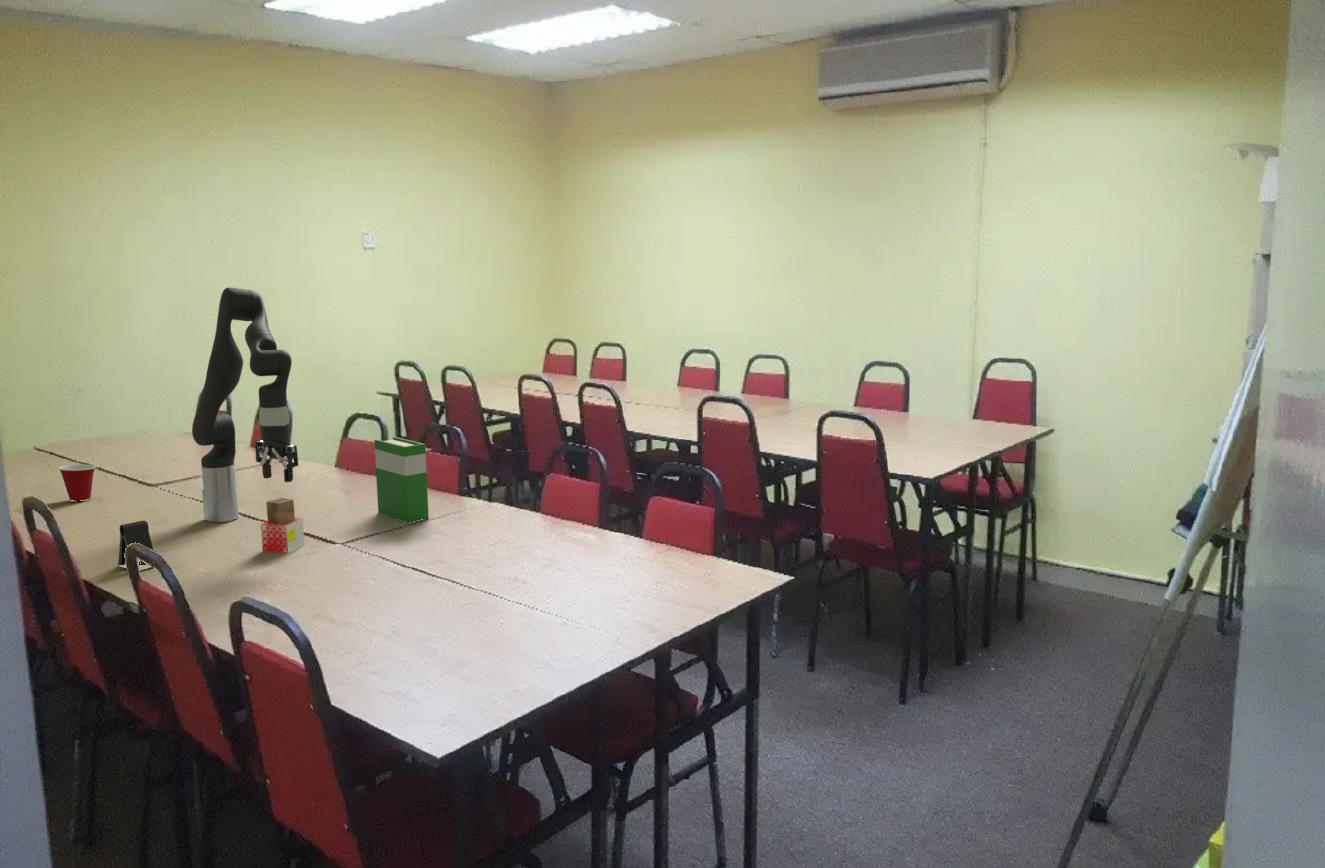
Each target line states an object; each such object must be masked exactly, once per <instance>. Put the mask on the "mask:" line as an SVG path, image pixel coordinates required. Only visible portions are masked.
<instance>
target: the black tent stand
mask: <svg viewBox="0 0 1325 868" xmlns="http://www.w3.org/2000/svg"><path fill="white" fill-rule="evenodd" d="M119 535H120V537H119V550H118V563H117V565H124V564H125V558H124V553H125V548H126V547H127V545H129V544H131V543H135V542H136V543H140V544H142V545H144V546H146V547H148V548H150V549H152V550H154V547H153V543H152V539H151V535H150V531H149V523H148V521H147V520H141V521H140V520H139V521H135V522H129V523H124V524H120V525H119ZM140 562H141V564H140ZM140 562H139V565H146V564H145V563H144V562H142V561H140ZM124 570H126V568H125V569H124Z"/></svg>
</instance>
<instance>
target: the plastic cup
mask: <svg viewBox="0 0 1325 868" xmlns="http://www.w3.org/2000/svg"><path fill="white" fill-rule="evenodd" d="M96 468H97V466H96V465H93V464H69V465H61V466H59V467H58V469H59V471H60V474H61V477H62V479H63V483H64V487H65V490H66V493H67V494H68V499H69V500H75V501H80V500H86V499H89V498H90V499H91V497H92V489H93V488H92V487H93V482H94V481H93V477H94V472H95V469H96Z"/></svg>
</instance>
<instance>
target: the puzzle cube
mask: <svg viewBox="0 0 1325 868" xmlns="http://www.w3.org/2000/svg"><path fill="white" fill-rule="evenodd" d="M303 522H304V519H303V517H302V518H300V517H295V521H291V522H288V523H284V524H281V525H279V524H274V523H269V522H268V520H267V521H266V522H262V523H261V524H260V531H261V533H260V534H261V546H262V552H265V551H269V552H268V553H280V552H283V554H289V553H291V552H293V551H295V550H297V549H299V548H300V547H303V546H304V545H305V536H304V535H305V533H304V523H303ZM302 545H303V546H302Z"/></svg>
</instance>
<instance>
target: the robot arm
mask: <svg viewBox="0 0 1325 868" xmlns="http://www.w3.org/2000/svg"><path fill="white" fill-rule="evenodd" d="M218 305H219V306H218V311H217V312H218V313H217V320H216V327H215V334H214V339H213V342H212V343H213V344H212V348H211V353H210V357H209V360H208V365H207V370H206V374H205V375H206V376H205V381H204V383H203V384H204V385H203V388H202V394H201V397H200V400H199V404H198V407H197V409H196V413H195V415H194V418H193V421H192V428H191V430H192V431H191V432H192V433H191V434H192V437H193V440H194V442H195V443H196V444H197V445H199V446H201V447H202V446H203V447H206V446H212V445H213V446H212V448H211V449H210V450H209V452H207V453H206V454H204V455H203V456H202V457H201V460H200V462H201V474H202V475H201V476H202V485H203V486H202V487H203V489H202V490H201V492H202V493H201V494H202V495H201V496H202V501H203V502H202V506H203V515H204V516H203V517H204V520H207V521H206V522H208V523H224V522H230V521H234V519H235V520H237V519H238V518H239V505H238V494H237V483H236V482H237V480H236V469H235V456H236V427H235V423H234V420H233V418H232V417H231V416H230V415H229V414H228V413H225V412H224V413H223V412H220V413H219V410H220V409H221V407H222V405H223V404H224V402H225V401H226V400H227V399H228V398H229V397H230V395H231V394H232V393H233V391H234V390H235V389H236V387H237V386H238V384H239V382H240V379H241V375H242V371H243V367H244V359H243V356H242V354H241V351H240V349H239V347H238V345H237V342H236V341H235V339H234V337H233V336H234V335H233V333H232V329H231V328H232V321H242V322H250V324H249V325H248V326H247V327H246V329H245V332H244V339H245V343H246V345H247V347H248V349H249V353H250V357H249V368H250V371H251V373H252V374H253V375H256V376H257V377H274V376H275V379H274V381H272V382H270V383H267V384H263V385H261V386H260V387H259V388H258V402H259V403H258V404H259V405H258V406H259V414H258V416H259V417H258V418H259V433H260V440H259V441H256V442H255V462H257V463H260V465H261V468H262V469H261V470H262V476H263V478H264V479H266V480H267V479H271V478H272V465H271V464H272V463H271V462H272V460H273V459H274V460H276V461H278V462H279V463H280V464H281V465H282V467H283V479H284V482H285V483H291V482H293V480H294V472H293V470H294V468H296V467H298V466H299V457H298V449H297V445H296V444H292V445H289V443H288V441H289V439H290V438H291V433H290V417H289V416H290V415H289V409H288V397H287V387H288V380H289V377H290V373H291V369H292V364H293V363H292V361H293V360H292V357H291V354H290V353H289V352H288V351H287V350H285V349H278V345H277V343H276V341H275V339H274V336H273V334H272V332H271V330H270V327H269V321H268V316H267V310H266V308H265V307H266V306H265V303H264V299H263V296H262V295H261V294H260V293H259V292H257V291H256V290H253V289H252V290H251V289H243V288H237V287H226V288H224V289H223V291H222V292H221V296H220V299H219V304H218Z"/></svg>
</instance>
